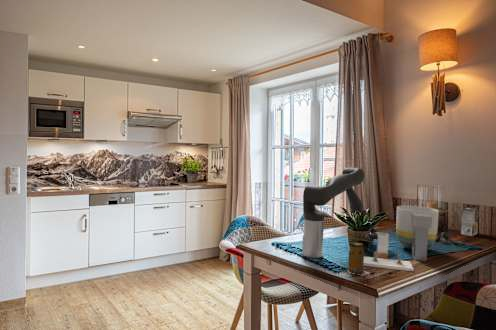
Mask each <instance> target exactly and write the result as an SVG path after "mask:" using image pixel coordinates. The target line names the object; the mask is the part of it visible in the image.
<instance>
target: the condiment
mask: <svg viewBox="0 0 496 330" xmlns="http://www.w3.org/2000/svg"><path fill="white" fill-rule="evenodd" d="M364 256H365V251H364V244H363V243H362V242H355V241H352V242H350V247H349V249H348V262H347V263H348V264H347V270H348V271H349V272H351V273H355V274H354V276H357V275H356V274H362V273H363V271H364V272H365V273H367V274H368V275H370V274H371V272H369V271H365V270H364ZM369 273H370V274H369ZM359 277H362V278H363V276H361V275H360V276H359Z"/></svg>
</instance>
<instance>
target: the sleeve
mask: <svg viewBox="0 0 496 330" xmlns="http://www.w3.org/2000/svg"><path fill="white" fill-rule="evenodd" d="M377 233H378V234H377V240H376V252H377V258H383V259H389V257H388V256H389V242H390V235H389V233H385V232H377ZM388 241H389V242H388Z"/></svg>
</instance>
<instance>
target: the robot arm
mask: <svg viewBox="0 0 496 330" xmlns="http://www.w3.org/2000/svg"><path fill="white" fill-rule="evenodd" d="M341 172H342V173H341V174H337V175H334V176H332V177H331V178H329V179H328V180H327V181H326V185H325V186H323V185H314V184H313V185H311V184H309V185H306V186H305V188H304V190H303V194H302V196H303V197H302V204H303V206H302V207H303V209H302V212H303V235H302V246H301V248H302V250H301V251H302V252H301V256H302V257H303V256H304V257H308V258H312V259H313V258H314V259H315V258H316V259H318V258H319V259H320V258H322V257H323V251H324V250H323V248H324V227H325V226H324V222H325V214H324V213H323V212H321V211H320V210H318V208H317V207H323V206H325V205H326V204H328V203H329V202H331V200H332V199H334V198H336V197H337V196H339V195H340V194H342V193H344V192H346V196H347V199H348V203H349V209H350V212H349V213H350V216H351V217H352V218H353V215H352V213H355V211H356V210H358V211H359V212H360V213H362V212H363V213H364V209H363V208H364V207H363V202H362V200H361V199H360V197H359V196H358V194H357V193H356V191H355V190H354V187H355V186H358V185H361V184H362V183H363V181H364V180H365V171H364V170H363V169H362V168H359V167H345V168H344V169H343V170H342V171H341ZM316 206H317V207H316ZM378 233H379V232H378V230H376V229H375V228H374V227H373V228H371V230H370V234H369V236H367V235H366V236H365V238H364V239H363V240H364V241H366V242H368V243H371V242H374V241H377V234H378ZM389 242H390V240H389V241H388V243H389Z"/></svg>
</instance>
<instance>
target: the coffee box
mask: <svg viewBox="0 0 496 330" xmlns="http://www.w3.org/2000/svg"><path fill="white" fill-rule="evenodd" d="M479 211H480V209H479V208H474V207H473V208H472V207H466V208H462V214H461V229H460V234H461V235H465V236H470V237H473V236H476V235H478V227H479Z"/></svg>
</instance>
